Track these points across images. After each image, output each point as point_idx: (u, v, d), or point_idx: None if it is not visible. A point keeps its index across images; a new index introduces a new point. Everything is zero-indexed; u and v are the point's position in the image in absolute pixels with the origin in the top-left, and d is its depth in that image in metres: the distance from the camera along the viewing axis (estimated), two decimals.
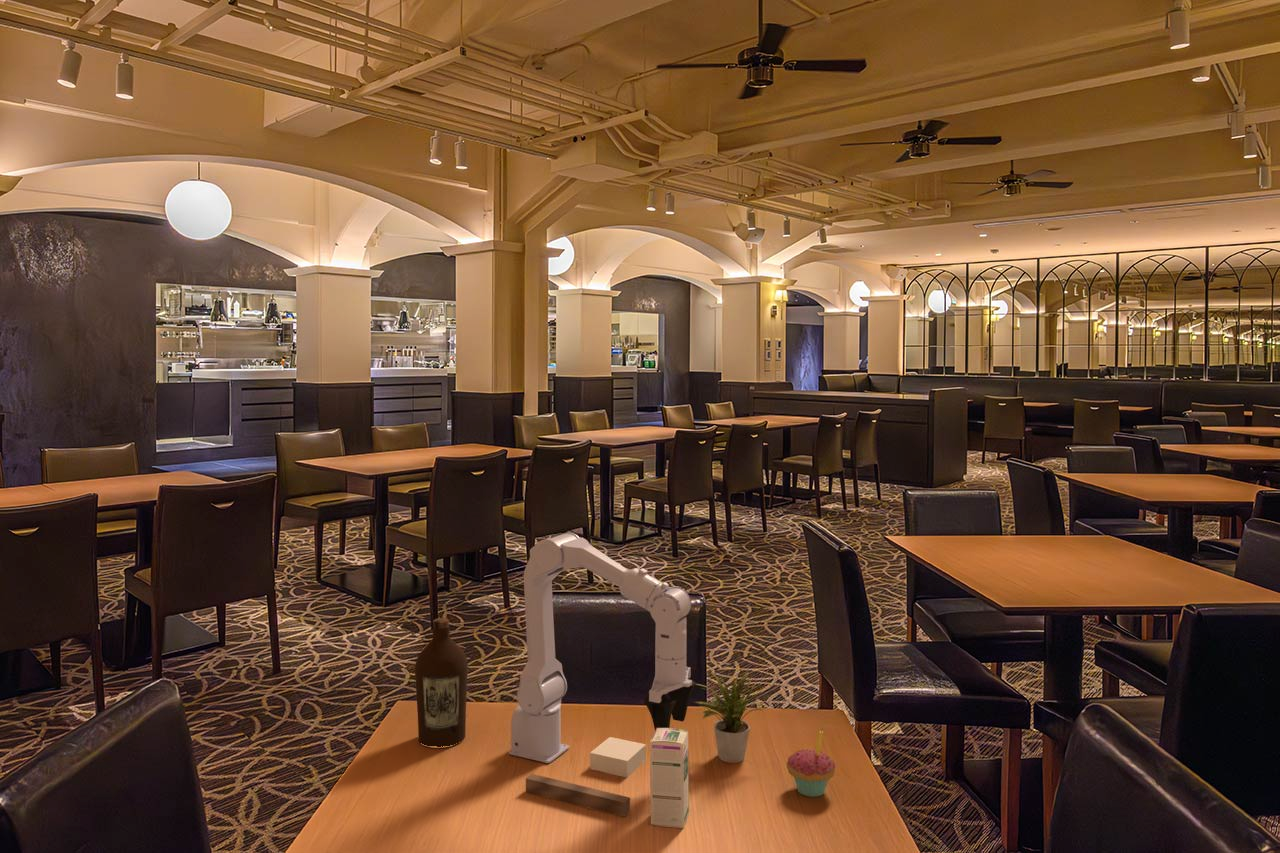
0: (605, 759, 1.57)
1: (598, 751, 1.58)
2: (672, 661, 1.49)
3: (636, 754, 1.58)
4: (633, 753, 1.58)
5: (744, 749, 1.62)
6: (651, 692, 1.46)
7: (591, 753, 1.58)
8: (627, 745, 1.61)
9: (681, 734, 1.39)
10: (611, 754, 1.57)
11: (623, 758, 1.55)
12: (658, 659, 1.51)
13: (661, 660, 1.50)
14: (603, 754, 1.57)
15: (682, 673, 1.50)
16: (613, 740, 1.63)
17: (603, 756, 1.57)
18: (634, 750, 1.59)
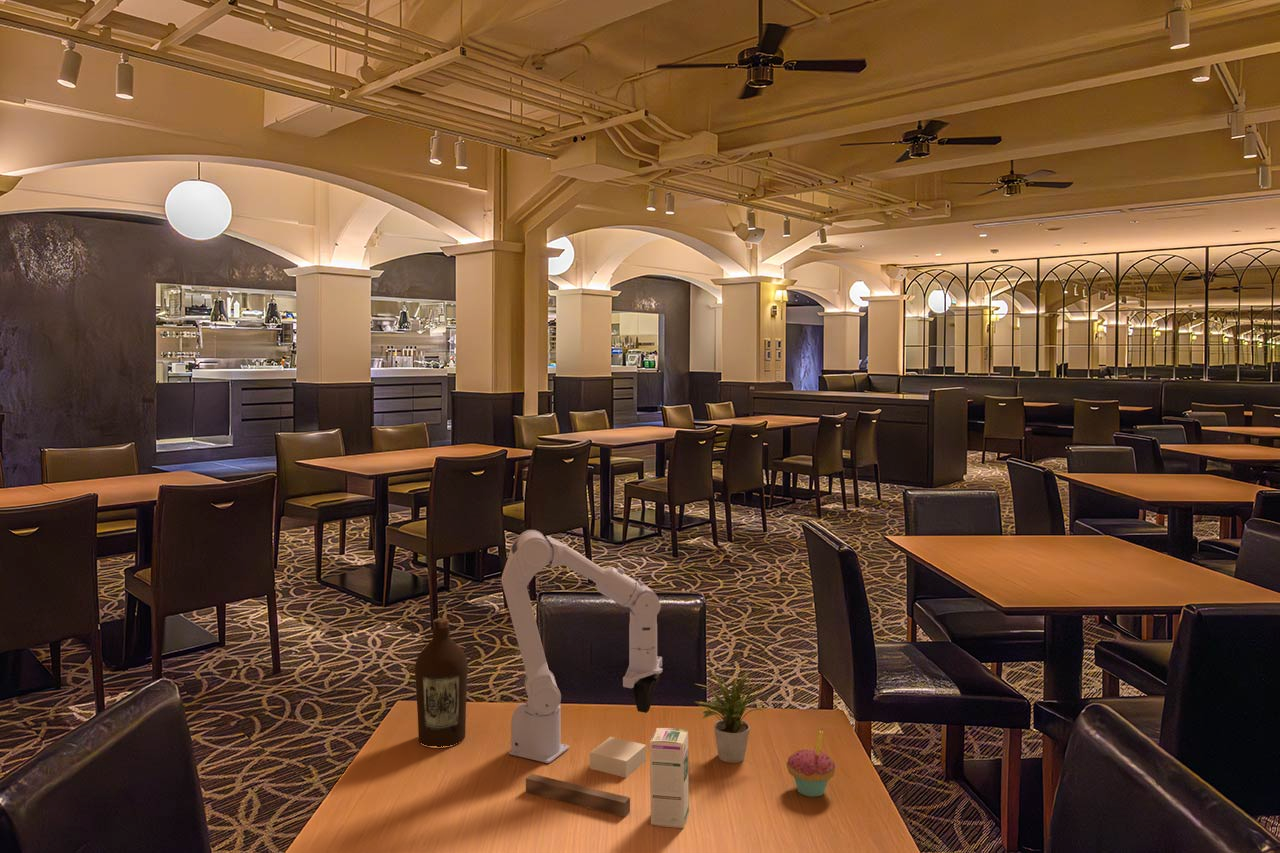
0: (605, 758, 1.57)
1: (598, 751, 1.59)
2: (644, 651, 1.66)
3: (636, 754, 1.58)
4: (633, 753, 1.58)
5: (744, 749, 1.62)
6: (625, 678, 1.63)
7: (591, 753, 1.58)
8: (627, 745, 1.61)
9: (681, 734, 1.39)
10: (611, 754, 1.57)
11: (623, 758, 1.55)
12: (631, 649, 1.67)
13: (634, 650, 1.67)
14: (603, 754, 1.57)
15: (653, 662, 1.67)
16: (614, 740, 1.63)
17: (602, 755, 1.57)
18: (634, 750, 1.59)
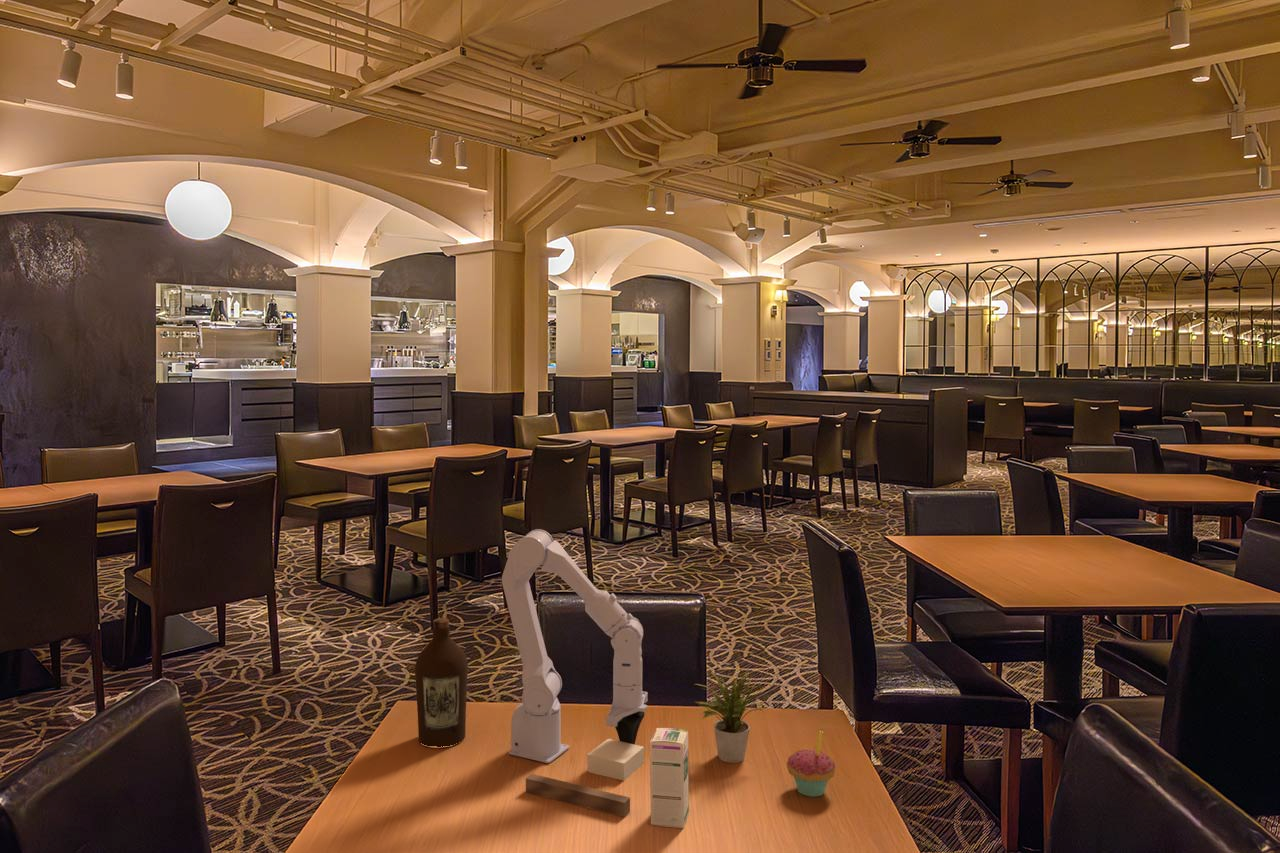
0: (602, 761, 1.55)
1: (595, 753, 1.57)
2: (628, 687, 1.60)
3: (633, 756, 1.57)
4: (630, 755, 1.56)
5: (744, 749, 1.62)
6: (608, 717, 1.57)
7: (588, 755, 1.57)
8: (624, 747, 1.60)
9: (681, 734, 1.39)
10: (608, 756, 1.56)
11: (620, 761, 1.54)
12: (615, 685, 1.61)
13: (618, 686, 1.61)
14: (600, 756, 1.56)
15: (638, 699, 1.61)
16: (611, 742, 1.62)
17: (600, 758, 1.56)
18: (632, 752, 1.58)
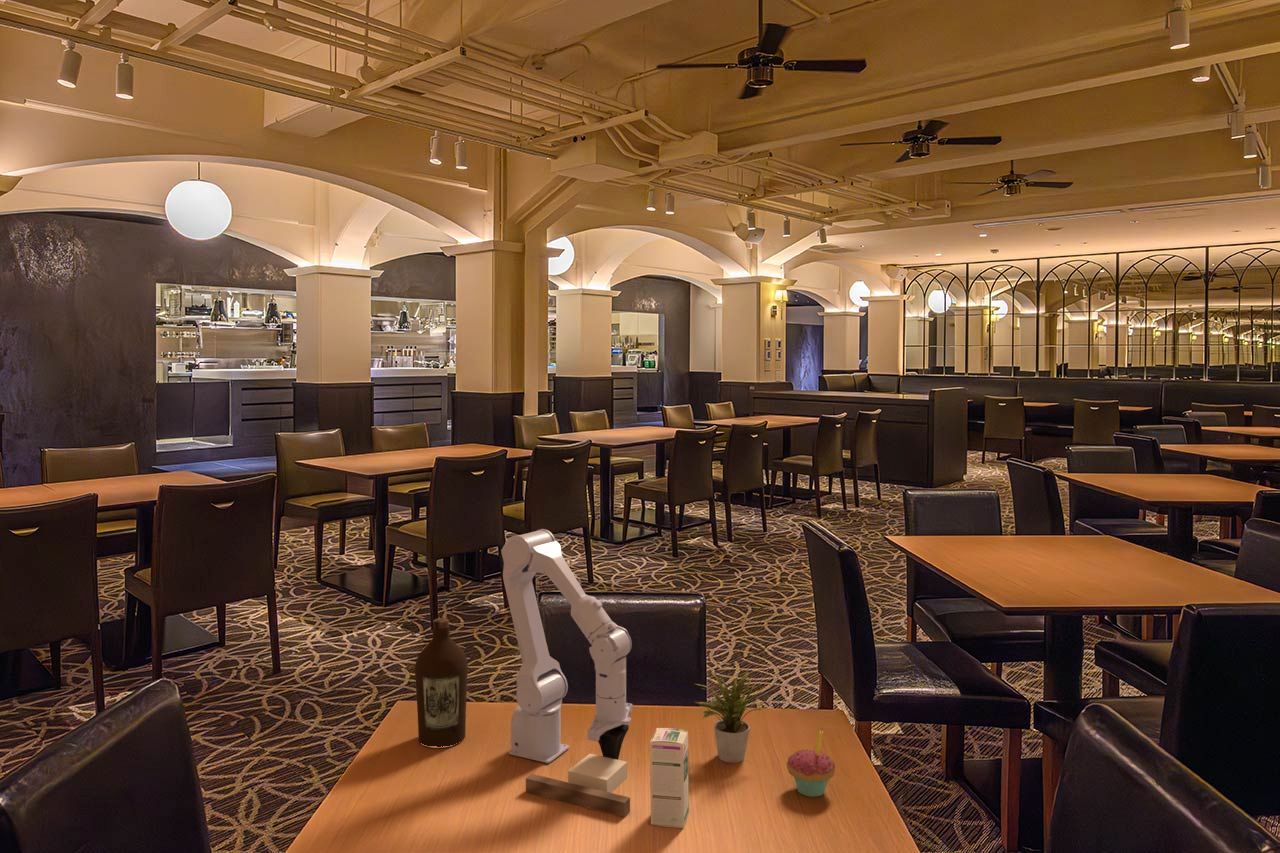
0: (584, 777, 1.49)
1: (576, 770, 1.51)
2: (611, 700, 1.54)
3: (616, 772, 1.51)
4: (613, 771, 1.50)
5: (744, 749, 1.62)
6: (589, 731, 1.50)
7: (569, 771, 1.51)
8: (607, 763, 1.54)
9: (681, 734, 1.39)
10: (590, 772, 1.50)
11: (603, 777, 1.48)
12: (598, 698, 1.55)
13: (601, 699, 1.54)
14: (582, 773, 1.50)
15: (621, 712, 1.55)
16: (593, 757, 1.56)
17: (581, 774, 1.49)
18: (614, 768, 1.52)
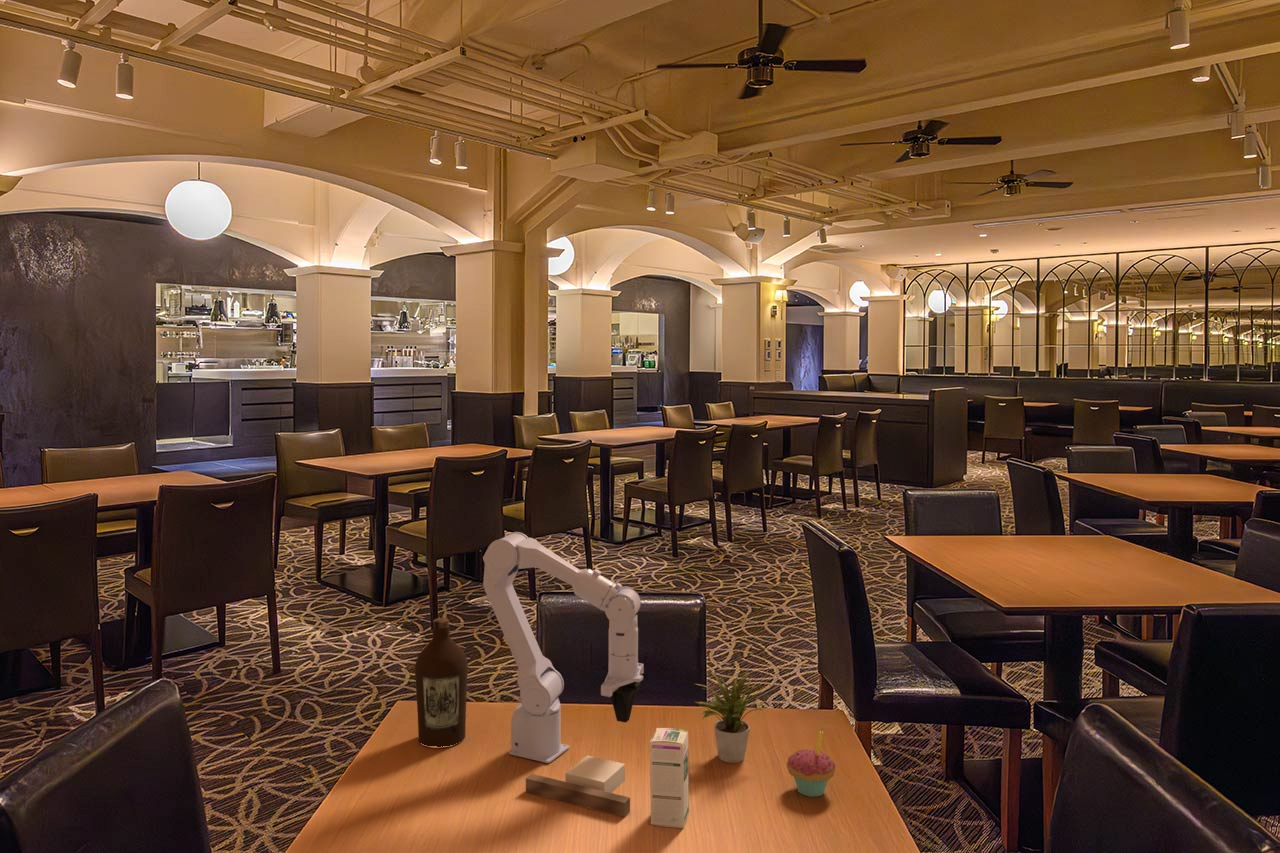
0: (581, 779, 1.48)
1: (574, 771, 1.50)
2: (623, 657, 1.58)
3: (614, 775, 1.50)
4: (611, 774, 1.49)
5: (744, 749, 1.62)
6: (603, 687, 1.55)
7: (566, 773, 1.50)
8: (605, 765, 1.53)
9: (681, 734, 1.40)
10: (587, 774, 1.49)
11: (600, 779, 1.47)
12: (611, 656, 1.59)
13: (613, 656, 1.59)
14: (579, 775, 1.49)
15: (633, 669, 1.59)
16: (591, 759, 1.55)
17: (579, 776, 1.48)
18: (612, 770, 1.51)
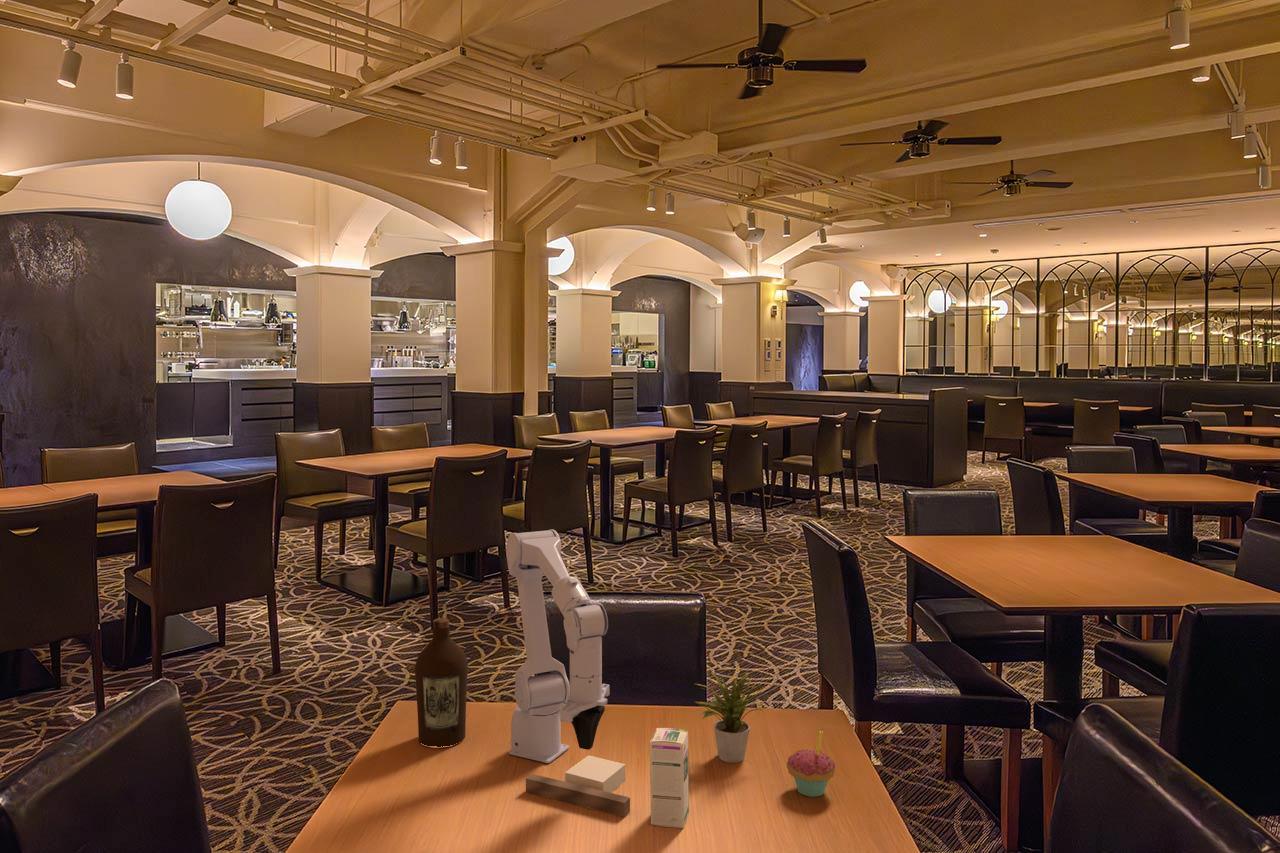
0: (581, 779, 1.48)
1: (574, 771, 1.50)
2: (585, 679, 1.45)
3: (614, 775, 1.50)
4: (610, 774, 1.49)
5: (744, 749, 1.62)
6: (562, 712, 1.41)
7: (566, 773, 1.50)
8: (605, 765, 1.53)
9: (681, 734, 1.39)
10: (587, 774, 1.49)
11: (599, 779, 1.47)
12: (572, 677, 1.46)
13: (574, 678, 1.45)
14: (578, 775, 1.49)
15: (596, 692, 1.46)
16: (592, 759, 1.55)
17: (578, 776, 1.49)
18: (612, 770, 1.51)
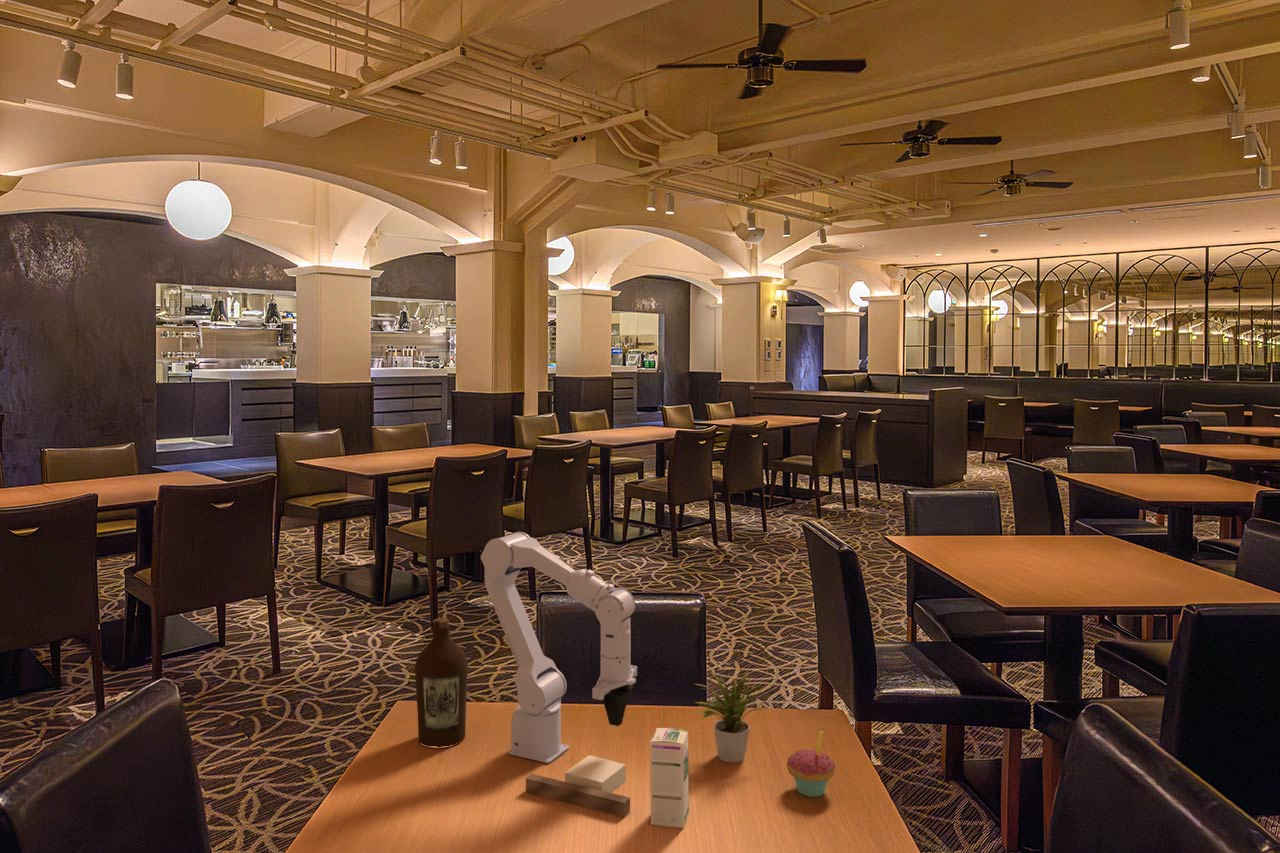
0: (580, 779, 1.48)
1: (573, 771, 1.50)
2: (616, 660, 1.55)
3: (613, 775, 1.49)
4: (610, 774, 1.49)
5: (744, 749, 1.62)
6: (594, 690, 1.52)
7: (566, 773, 1.50)
8: (605, 765, 1.53)
9: (681, 734, 1.39)
10: (587, 774, 1.49)
11: (599, 779, 1.47)
12: (603, 658, 1.56)
13: (605, 659, 1.56)
14: (578, 775, 1.49)
15: (626, 672, 1.56)
16: (592, 759, 1.55)
17: (578, 776, 1.49)
18: (611, 771, 1.50)
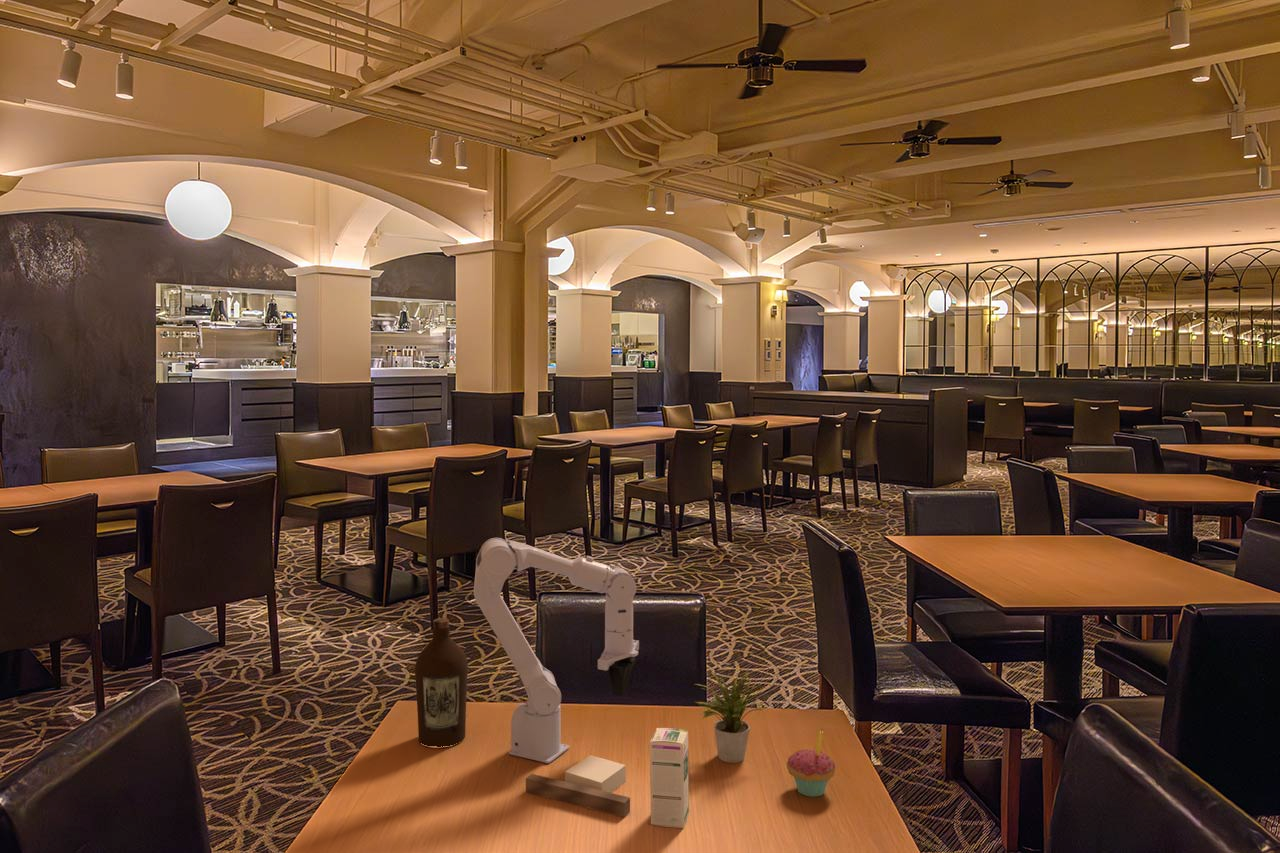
0: (580, 779, 1.48)
1: (573, 771, 1.50)
2: (619, 633, 1.65)
3: (613, 775, 1.49)
4: (610, 774, 1.49)
5: (744, 749, 1.62)
6: (599, 661, 1.62)
7: (566, 772, 1.50)
8: (605, 765, 1.53)
9: (681, 734, 1.39)
10: (586, 774, 1.49)
11: (598, 779, 1.47)
12: (607, 632, 1.66)
13: (609, 632, 1.66)
14: (578, 774, 1.49)
15: (629, 645, 1.66)
16: (593, 759, 1.55)
17: (577, 775, 1.49)
18: (611, 771, 1.50)
